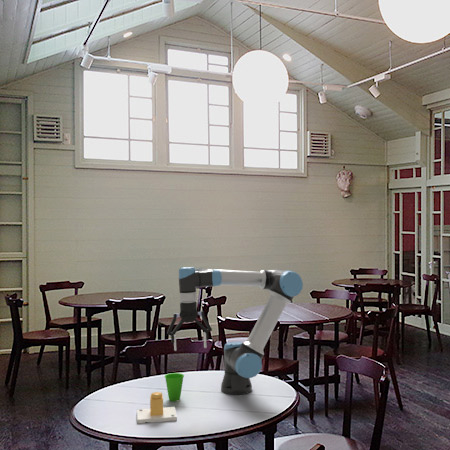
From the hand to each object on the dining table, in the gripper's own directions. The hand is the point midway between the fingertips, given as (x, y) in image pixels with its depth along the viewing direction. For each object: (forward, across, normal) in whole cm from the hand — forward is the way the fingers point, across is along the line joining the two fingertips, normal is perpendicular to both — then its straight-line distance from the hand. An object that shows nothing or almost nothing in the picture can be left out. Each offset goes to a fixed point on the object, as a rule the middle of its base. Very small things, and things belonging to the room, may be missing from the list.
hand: (190, 348), depth 220 cm
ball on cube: (+23, +17, +11) cm, 31 cm away
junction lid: (+24, +17, +11) cm, 32 cm away
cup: (+25, +7, -9) cm, 27 cm away
